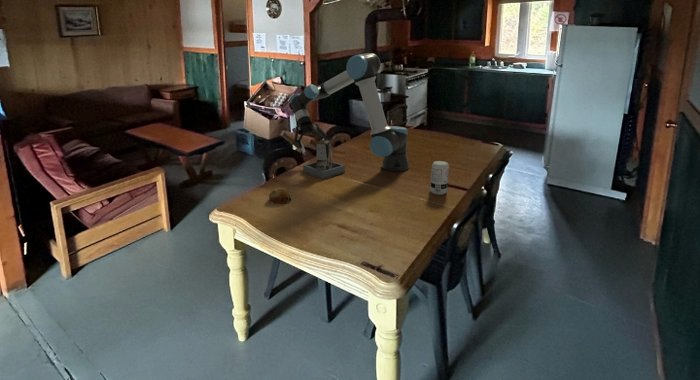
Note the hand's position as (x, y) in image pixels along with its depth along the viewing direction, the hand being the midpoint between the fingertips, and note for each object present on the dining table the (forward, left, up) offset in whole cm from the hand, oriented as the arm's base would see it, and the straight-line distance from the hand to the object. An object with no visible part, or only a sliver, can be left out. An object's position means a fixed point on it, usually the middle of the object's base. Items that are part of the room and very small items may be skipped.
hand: (315, 151), depth 277 cm
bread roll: (-27, +44, -10) cm, 52 cm away
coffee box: (-10, +2, -8) cm, 13 cm away
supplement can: (-71, -18, -9) cm, 74 cm away
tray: (-10, +3, -9) cm, 14 cm away
